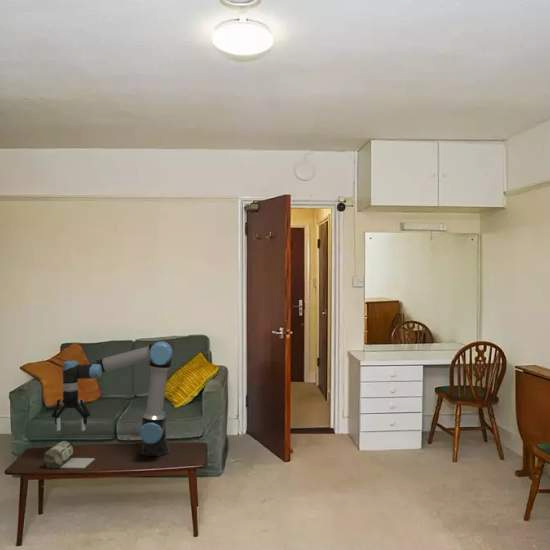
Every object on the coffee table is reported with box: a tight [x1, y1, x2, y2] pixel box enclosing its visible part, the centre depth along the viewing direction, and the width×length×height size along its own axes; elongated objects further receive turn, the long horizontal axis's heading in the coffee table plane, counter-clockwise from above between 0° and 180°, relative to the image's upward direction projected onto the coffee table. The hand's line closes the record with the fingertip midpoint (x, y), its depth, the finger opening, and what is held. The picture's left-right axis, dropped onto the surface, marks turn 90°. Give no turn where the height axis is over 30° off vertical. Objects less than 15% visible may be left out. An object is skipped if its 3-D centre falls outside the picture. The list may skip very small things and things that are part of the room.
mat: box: [46, 457, 96, 469], centre depth 280 cm, size 20×14×1 cm
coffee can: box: [43, 439, 75, 470], centre depth 278 cm, size 10×10×14 cm
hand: (71, 430), depth 279 cm, fingers open, 13 cm apart
